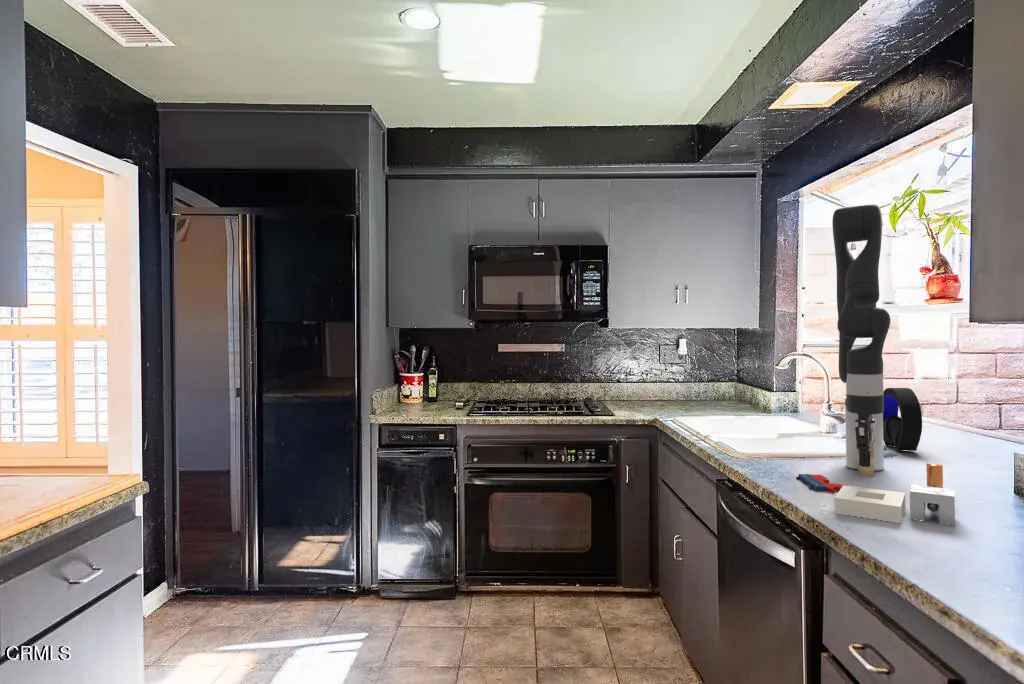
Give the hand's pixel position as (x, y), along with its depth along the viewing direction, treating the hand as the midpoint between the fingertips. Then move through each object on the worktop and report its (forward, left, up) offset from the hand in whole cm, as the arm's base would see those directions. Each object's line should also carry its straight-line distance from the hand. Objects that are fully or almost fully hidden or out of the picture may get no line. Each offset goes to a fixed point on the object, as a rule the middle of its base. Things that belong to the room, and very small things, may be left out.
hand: (865, 464), depth 136 cm
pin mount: (+10, +13, -8) cm, 18 cm away
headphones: (-66, +2, -8) cm, 66 cm away
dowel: (0, 0, -3) cm, 3 cm away
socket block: (+11, +2, -8) cm, 14 cm away
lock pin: (+1, +13, -8) cm, 15 cm away
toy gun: (-7, -10, -9) cm, 15 cm away
